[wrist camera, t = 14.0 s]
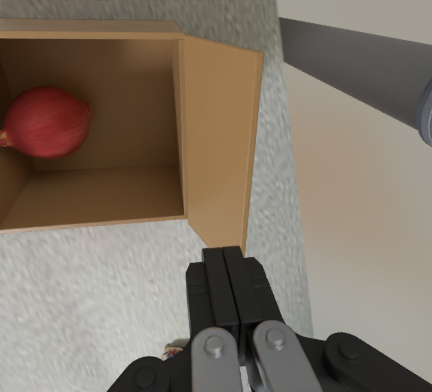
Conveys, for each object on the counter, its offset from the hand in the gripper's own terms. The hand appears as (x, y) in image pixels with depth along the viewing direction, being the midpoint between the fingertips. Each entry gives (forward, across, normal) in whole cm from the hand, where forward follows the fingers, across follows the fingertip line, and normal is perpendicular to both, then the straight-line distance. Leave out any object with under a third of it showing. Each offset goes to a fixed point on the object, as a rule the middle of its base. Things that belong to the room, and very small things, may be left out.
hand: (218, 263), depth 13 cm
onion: (+21, +8, 0) cm, 22 cm away
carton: (+22, +8, 0) cm, 23 cm away
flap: (+8, -1, 0) cm, 8 cm away
